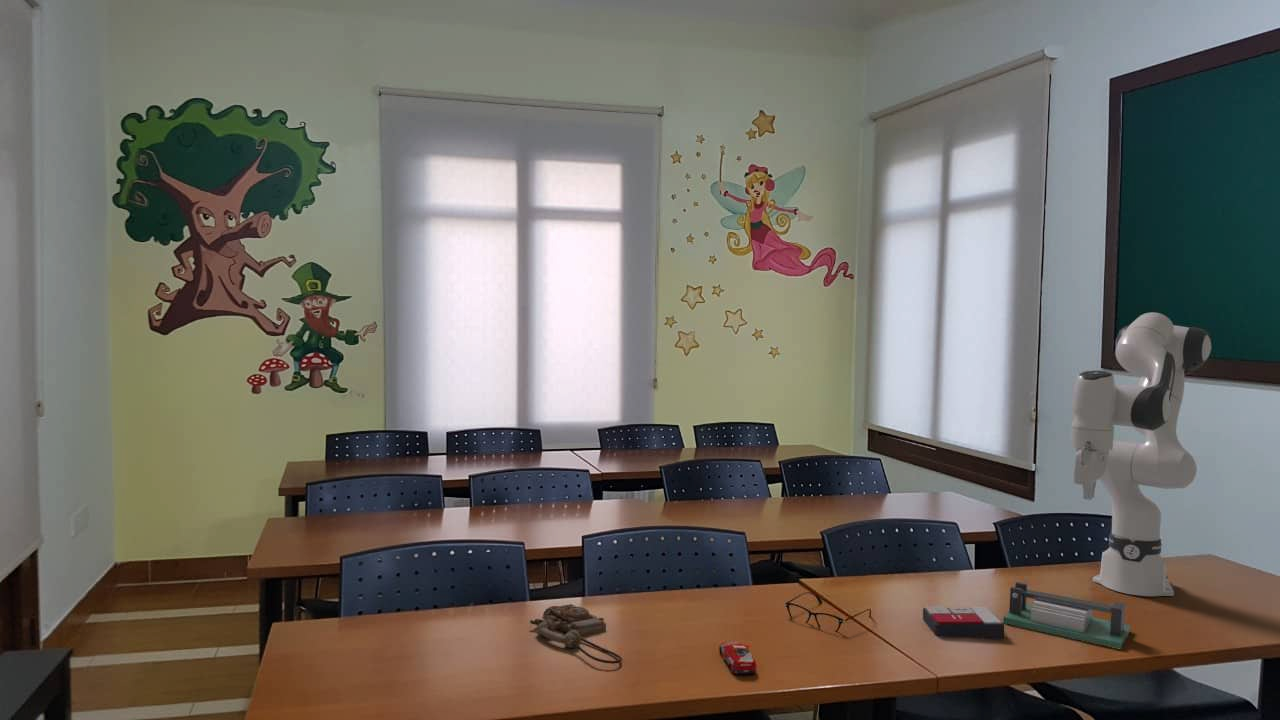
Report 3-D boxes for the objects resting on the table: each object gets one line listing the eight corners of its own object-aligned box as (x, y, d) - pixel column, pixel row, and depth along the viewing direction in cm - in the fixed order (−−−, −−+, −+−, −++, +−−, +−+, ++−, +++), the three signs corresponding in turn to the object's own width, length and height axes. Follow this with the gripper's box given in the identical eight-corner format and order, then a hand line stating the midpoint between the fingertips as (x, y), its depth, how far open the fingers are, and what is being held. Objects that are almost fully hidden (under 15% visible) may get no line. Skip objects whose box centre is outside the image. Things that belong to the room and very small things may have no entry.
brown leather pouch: (596, 674, 164) (597, 652, 164) (511, 623, 190) (513, 604, 190) (656, 660, 173) (657, 639, 173) (568, 613, 200) (569, 595, 199)
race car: (716, 651, 177) (717, 632, 177) (742, 651, 178) (742, 632, 178) (731, 678, 164) (732, 657, 164) (758, 677, 165) (759, 657, 165)
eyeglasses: (780, 617, 198) (781, 600, 198) (816, 602, 210) (816, 586, 210) (843, 637, 187) (844, 619, 187) (877, 619, 199) (878, 602, 199)
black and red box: (922, 604, 199) (987, 604, 198) (922, 622, 199) (987, 622, 198) (935, 621, 188) (1004, 621, 187) (935, 640, 188) (1005, 640, 187)
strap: (1017, 592, 203) (1018, 588, 203) (1112, 609, 191) (1112, 605, 191) (1014, 595, 201) (1014, 591, 200) (1110, 613, 188) (1110, 608, 188)
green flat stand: (1018, 607, 208) (1019, 577, 208) (1129, 631, 194) (1131, 599, 193) (1003, 623, 197) (1004, 591, 197) (1120, 650, 183) (1122, 615, 182)
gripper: (1099, 446, 188) (1095, 508, 189) (1113, 437, 204) (1110, 494, 205) (1068, 443, 192) (1064, 503, 193) (1084, 434, 208) (1081, 490, 209)
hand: (1088, 498), depth 199 cm, fingers closed
